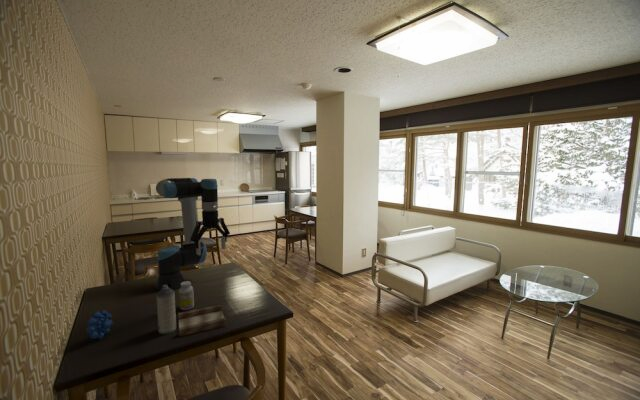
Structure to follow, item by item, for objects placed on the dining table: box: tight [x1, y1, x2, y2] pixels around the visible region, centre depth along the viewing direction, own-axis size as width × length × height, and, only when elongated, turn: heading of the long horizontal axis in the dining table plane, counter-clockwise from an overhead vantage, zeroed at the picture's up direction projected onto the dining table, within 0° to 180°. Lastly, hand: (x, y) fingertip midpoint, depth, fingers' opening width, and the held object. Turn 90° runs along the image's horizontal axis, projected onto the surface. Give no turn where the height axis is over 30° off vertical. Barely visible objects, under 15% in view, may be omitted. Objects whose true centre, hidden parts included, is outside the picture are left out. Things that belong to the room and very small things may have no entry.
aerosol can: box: [156, 285, 177, 335], centre depth 124 cm, size 7×7×20 cm
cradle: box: [177, 304, 228, 337], centre depth 131 cm, size 19×16×3 cm
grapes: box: [85, 309, 114, 340], centre depth 118 cm, size 12×7×12 cm, turn 175°
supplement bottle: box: [178, 280, 195, 311], centre depth 144 cm, size 7×7×13 cm
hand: (211, 251), depth 145 cm, fingers open, 13 cm apart
